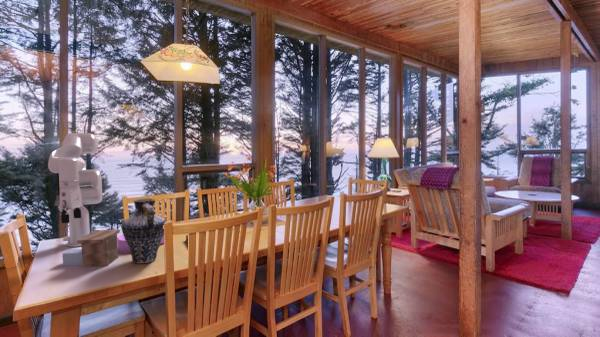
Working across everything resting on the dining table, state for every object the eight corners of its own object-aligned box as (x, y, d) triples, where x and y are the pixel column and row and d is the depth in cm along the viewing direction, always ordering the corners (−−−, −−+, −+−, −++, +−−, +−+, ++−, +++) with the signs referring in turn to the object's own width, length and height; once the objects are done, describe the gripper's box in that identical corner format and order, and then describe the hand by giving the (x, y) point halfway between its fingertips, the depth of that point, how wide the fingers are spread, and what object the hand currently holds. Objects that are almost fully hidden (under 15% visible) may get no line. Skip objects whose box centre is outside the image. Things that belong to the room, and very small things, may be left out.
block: (63, 266, 157) (62, 253, 156) (70, 261, 163) (70, 249, 162) (103, 264, 158) (102, 252, 158) (109, 260, 164) (108, 248, 164)
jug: (116, 261, 162) (113, 199, 159) (155, 250, 177) (153, 194, 174) (135, 271, 149) (132, 205, 146) (176, 259, 164) (174, 199, 161)
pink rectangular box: (121, 254, 171) (119, 229, 170) (115, 247, 183) (114, 223, 182) (171, 245, 187) (170, 221, 186) (162, 238, 199) (162, 217, 198)
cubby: (79, 269, 152) (77, 240, 151) (98, 256, 169) (96, 230, 168) (104, 268, 153) (102, 239, 152) (120, 255, 170) (119, 229, 169)
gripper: (67, 186, 149) (69, 224, 150) (87, 182, 166) (89, 216, 167) (49, 187, 148) (51, 225, 149) (71, 182, 165) (73, 216, 166)
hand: (71, 220), depth 158 cm, fingers open, 9 cm apart
